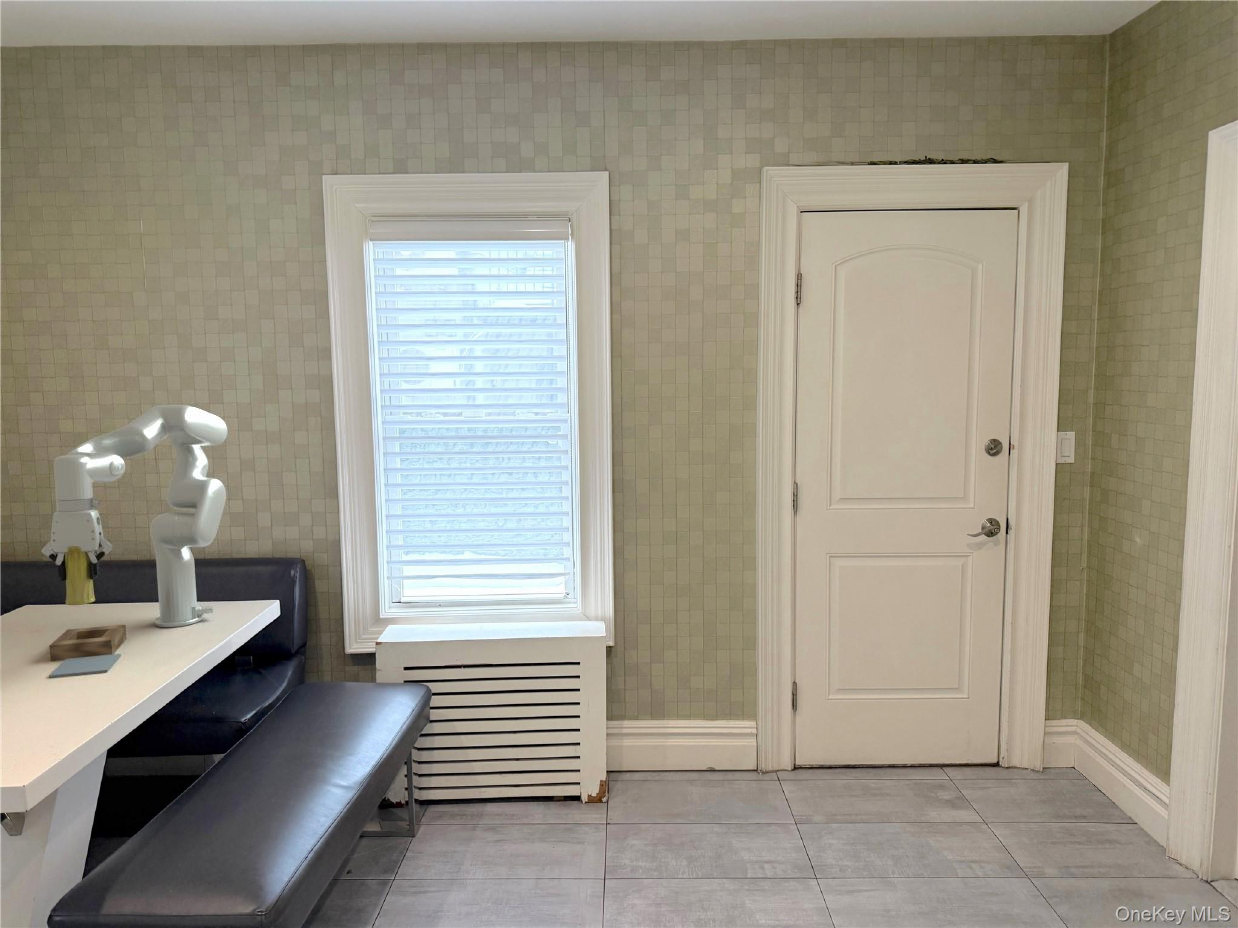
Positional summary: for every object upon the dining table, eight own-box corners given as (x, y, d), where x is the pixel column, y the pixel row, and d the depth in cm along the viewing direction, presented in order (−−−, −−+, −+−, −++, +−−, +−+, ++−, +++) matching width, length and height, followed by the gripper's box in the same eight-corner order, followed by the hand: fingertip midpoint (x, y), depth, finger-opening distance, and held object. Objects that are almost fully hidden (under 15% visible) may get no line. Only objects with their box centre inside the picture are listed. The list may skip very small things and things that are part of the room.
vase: (63, 606, 197) (60, 548, 195) (67, 600, 202) (64, 544, 201) (93, 603, 199) (90, 546, 198) (97, 598, 205) (93, 541, 204)
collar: (126, 638, 220) (125, 624, 219) (112, 655, 207) (111, 639, 206) (68, 644, 216) (67, 629, 215) (50, 660, 203) (49, 645, 202)
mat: (121, 655, 206) (120, 653, 206) (107, 672, 195) (107, 669, 195) (66, 661, 203) (66, 658, 203) (48, 677, 191) (48, 675, 191)
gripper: (119, 502, 205) (123, 573, 206) (40, 505, 200) (45, 577, 202) (110, 506, 197) (114, 580, 199) (27, 509, 193) (32, 584, 194)
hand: (79, 578), depth 200 cm, fingers closed on vase, 5 cm apart
